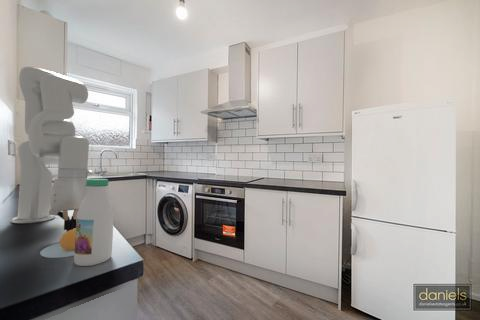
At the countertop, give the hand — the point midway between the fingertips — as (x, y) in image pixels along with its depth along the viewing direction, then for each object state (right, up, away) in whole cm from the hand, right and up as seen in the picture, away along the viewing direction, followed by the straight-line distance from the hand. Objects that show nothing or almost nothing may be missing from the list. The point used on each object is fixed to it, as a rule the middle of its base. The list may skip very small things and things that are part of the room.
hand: (69, 231), depth 69 cm
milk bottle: (+18, -2, -16) cm, 24 cm away
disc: (+8, -2, -9) cm, 12 cm away
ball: (+9, +1, -10) cm, 14 cm away
